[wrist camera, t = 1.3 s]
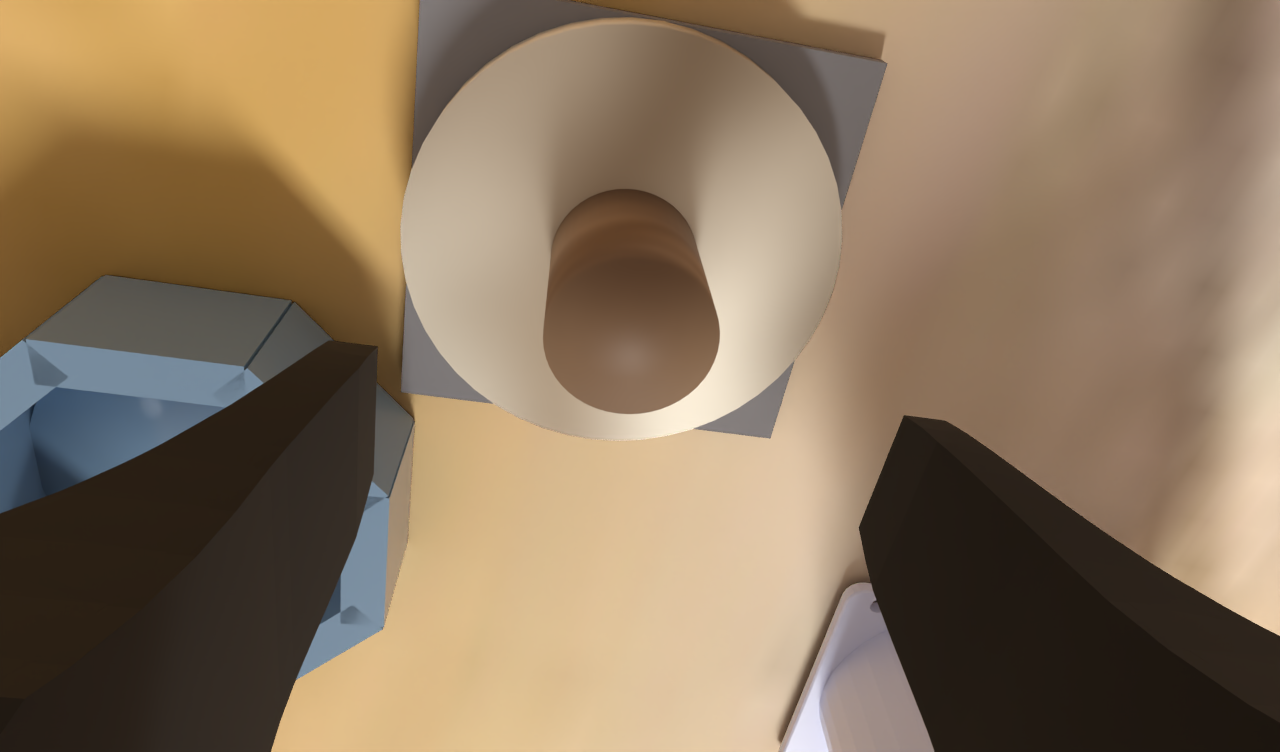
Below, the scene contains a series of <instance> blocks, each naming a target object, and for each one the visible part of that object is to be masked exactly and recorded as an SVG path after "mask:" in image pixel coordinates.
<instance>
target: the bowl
mask: <svg viewBox="0 0 1280 752" xmlns="http://www.w3.org/2000/svg"><path fill="white" fill-rule="evenodd" d="M329 340H331V341H334V340H333V339H332V338H331V337H330V336H329V335H328V334H327V333H326V332H325V331H324V330H323V329H322V328H321V327H320V326H319V325H318V324H317V323H316V322H315V321H314V320H312V319H311V318H310V317H309V316H308V315H307V314H306V313H305V312H304V311H303V310H302V309H301V308H300V307H299V306H298V305H297V304H296V303H295V302H294V303H292V301H291V300H285V299H278V298H270V297H263V296H256V295H248V294H241V293H234V292H227V291H219V290H212V289H205V288H197V287H190V286H183V285H176V284H168V283H161V282H154V281H146V280H139V279H132V278H125V277H117V276H110V275H105V276H101V277H100V278H99V279H98V280H96V281H95V282H94V283H93V284H91V285H90V286H89V287H88V288H86V289H85V290H84V291H83V292H81V293H80V294H79V295H78V296H76V297H75V298H74V299H73V300H71V301H70V302H69V303H68V304H66V305H65V306H64V307H63V308H61V309H60V310H59V311H58V312H56V313H55V314H54V315H53V316H51V317H50V318H49V319H48V320H46V321H45V322H44V323H43V324H41V325H40V326H39V327H38V328H36V329H35V330H34V331H33V332H31V333H30V334H29V335H28V336H26V337H25V338H24V339H23V340H21V341H20V342H19V343H18V344H16V345H15V346H14V347H13V348H12V349H10V350H9V351H8V352H7V353H5V354H4V355H3V356H2V357H1V358H0V513H3V512H5V511H8V510H11V509H13V508H16V507H19V506H21V505H24V504H27V503H29V502H32V501H35V500H37V499H40V498H43V497H45V496H48V495H51V494H53V493H56V492H59V491H61V490H64V489H66V488H68V487H71V486H73V485H76V484H78V483H80V482H82V481H85V480H87V479H89V478H91V477H93V476H96V475H98V474H100V473H102V472H105V471H107V470H109V469H111V468H113V467H116V466H118V465H120V464H122V463H124V462H126V461H128V460H130V459H133V458H135V457H137V456H139V455H141V454H143V453H145V452H147V451H149V450H151V449H153V448H155V447H156V446H158V445H160V444H162V443H164V442H166V441H168V440H169V439H171V438H173V437H175V436H176V435H178V434H180V433H182V432H183V431H185V430H187V429H189V428H190V427H192V426H194V425H196V424H197V423H199V422H201V421H203V420H205V419H206V418H208V417H210V416H212V415H213V414H215V413H217V412H219V411H220V410H222V409H224V408H226V407H227V406H229V405H231V404H232V403H234V402H235V401H237V400H238V399H240V398H242V397H243V396H245V395H246V394H248V393H249V392H251V391H252V390H254V389H256V388H257V387H259V386H260V385H262V384H263V383H265V382H266V381H268V380H270V379H271V378H273V377H274V376H276V375H277V374H279V373H280V372H282V371H283V370H285V369H286V368H288V367H289V366H291V365H292V364H294V363H295V362H296V361H298V360H299V359H301V358H302V357H304V356H305V355H307V354H308V353H310V352H311V351H313V350H314V349H316V348H317V347H319V346H320V345H322V344H324V343H325V342H327V341H329ZM413 420H414V419H413V418H412V417H411V416H410V415H409V414H408V413H407V412H406V411H405V410H404V409H403V408H402V407H401V406H400V405H399V404H398V403H397V402H396V401H395V400H394V399H393V398H392V397H391V396H390V395H389V394H388V393H387V392H386V391H385V390H384V389H383V388H382V387H381V386H380V385H379V384H378V383H377V387H376V419H375V452H374V475H373V479H372V483H371V486H370V490H369V494H368V498H367V501H366V505H365V509H364V512H363V516H362V519H361V523H360V526H359V530H358V533H357V537H356V540H355V542H354V545H353V547H352V549H351V552H350V554H349V557H348V559H347V561H346V564H345V566H344V568H343V571H342V573H341V576H340V578H339V580H338V583H337V585H336V587H335V590H334V592H333V594H332V597H331V599H330V601H329V604H328V606H327V608H326V611H325V613H324V615H323V618H322V620H321V622H320V625H319V627H318V629H317V632H316V634H315V636H314V639H313V641H312V643H311V646H310V648H309V650H308V653H307V655H306V657H305V660H304V662H303V664H302V667H301V669H300V671H299V674H298V676H297V678H296V680H297V679H298V678H300V677H302V676H304V675H305V674H307V673H309V672H310V671H312V670H314V669H315V668H317V667H319V666H321V665H322V664H324V663H326V662H327V661H329V660H331V659H333V658H334V657H336V656H338V655H339V654H341V653H343V652H345V651H346V650H348V649H350V648H351V647H353V646H355V645H356V644H358V643H360V642H362V641H363V640H365V639H367V638H368V637H370V636H372V635H374V634H375V633H377V632H379V631H380V630H382V629H383V627H384V625H385V622H386V618H387V614H388V611H389V607H390V604H391V600H392V597H393V593H394V589H395V586H396V582H397V579H398V575H399V571H400V568H401V564H402V561H403V557H404V554H405V550H406V546H407V543H408V529H409V512H410V495H411V478H412V461H413V444H414V427H415V421H413Z"/></svg>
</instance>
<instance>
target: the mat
mask: <svg viewBox="0 0 1280 752" xmlns="http://www.w3.org/2000/svg"><path fill="white" fill-rule="evenodd" d="M618 17H635V18H644V19H652V20H660V21H666V22H669V23H673V24H677V25H681V26H684V27H688V28H692V29H695V30H697V31H699V32H702V33H704V34H706V35H709V36H711V37H713V38H716V39H718V40H721V41H722V42H724V43H726V44H727V45H729V46H731V47H732V48H734V49H736V50H737V51H739V52H740V53H742V54H744V55H745V56H747V57H748V58H749V59H751V60H752V61H753V62H754V63H756V64H757V65H758V66H759V67H760V68H762V69H763V70H764V71H765V72H766V73H768V74H769V75H770V76H771V77H772V78H773V79H774V80H775V81H776V82H777V83H778V85H779V86H780V87H781V88H782V89H783V90H784V91H785V92H786V93H787V94H788V95H789V97H790V98H791V99H792V100H793V101H794V102H795V103H796V104H797V105H798V106H799V108H800V109H801V110H802V112H803V113H804V115H805V116H806V118H807V119H808V121H809V122H810V124H811V125H812V127H813V128H814V130H815V131H816V133H817V135H818V137H819V139H820V141H821V143H822V145H823V147H824V149H825V151H826V154H827V156H828V158H829V161H830V164H831V167H832V170H833V173H834V176H835V180H836V183H837V187H838V193H839V199H840V205H841V210H842V207H843V204H844V201H845V198H846V194H847V191H848V188H849V185H850V182H851V178H852V175H853V172H854V169H855V166H856V162H857V159H858V156H859V153H860V150H861V146H862V143H863V140H864V137H865V134H866V130H867V127H868V124H869V121H870V118H871V114H872V111H873V108H874V105H875V102H876V98H877V95H878V92H879V89H880V86H881V82H882V79H883V76H884V73H885V70H886V66H887V63H885V62H884V61H882V60H879V59H873V58H868V57H863V56H858V55H853V54H847V53H842V52H837V51H832V50H826V49H821V48H816V47H811V46H806V45H800V44H795V43H790V42H785V41H779V40H774V39H769V38H764V37H758V36H753V35H748V34H743V33H738V32H732V31H727V30H722V29H717V28H711V27H706V26H701V25H696V24H691V23H685V22H680V21H675V20H670V19H664V18H659V17H654V16H649V15H644V14H638V13H633V12H628V11H623V10H617V9H612V8H607V7H602V6H597V5H591V4H586V3H581V2H576V1H570V0H420V7H419V28H418V49H417V70H416V90H415V111H414V132H413V152H412V167H413V165H414V163H415V160H416V158H417V156H418V153H419V151H420V149H421V146H422V144H423V142H424V140H425V139H426V137H427V135H428V134H429V132H430V131H431V129H432V127H433V126H434V124H435V122H436V121H437V119H438V118H439V116H440V114H441V113H442V111H443V110H444V108H445V107H446V105H447V104H448V103H449V102H450V100H451V99H452V98H453V97H454V96H455V94H456V93H457V92H458V91H459V90H460V88H461V87H462V86H463V85H464V84H465V82H466V81H468V80H469V79H470V78H471V77H472V76H473V75H474V74H475V73H476V72H478V71H479V70H480V69H481V68H482V67H483V66H484V65H485V64H487V63H488V62H489V61H491V60H492V59H494V58H495V57H497V56H498V55H500V54H501V53H503V52H504V51H506V50H507V49H509V48H510V47H512V46H513V45H515V44H517V43H519V42H521V41H524V40H526V39H528V38H530V37H532V36H534V35H536V34H538V33H540V32H543V31H546V30H550V29H553V28H556V27H559V26H562V25H565V24H569V23H573V22H579V21H585V20H591V19H597V18H618ZM794 361H795V360H794ZM794 361H793V363H792V364H791V365H790V366H789V367H788V368H787V369H786V370H785V371H784V372H783V373H782V374H781V375H780V376H779V378H778V379H776V380H775V381H774V382H773V383H772V384H770V385H769V386H768V387H767V388H766V389H765V390H763V391H762V392H761V393H760V394H759V395H757V396H756V397H754V398H753V399H751V400H750V401H748V402H747V403H745V404H744V405H742V406H741V407H739V408H738V409H736V410H734V411H732V412H730V413H728V414H726V415H724V416H722V417H720V418H718V419H717V420H715V421H712V422H709V423H707V424H704V425H702V426H699V427H696V428H694V429H699V430H707V431H715V432H723V433H731V434H739V435H747V436H755V437H763V438H771V434H772V431H773V428H774V425H775V422H776V418H777V415H778V412H779V409H780V406H781V402H782V399H783V396H784V393H785V390H786V386H787V383H788V380H789V377H790V374H791V370H792V367H793V364H794ZM401 392H404V393H412V394H420V395H428V396H436V397H444V398H452V399H460V400H468V401H476V402H484V403H492V402H491V401H489V400H488V399H487V398H485V397H484V396H483V395H481V394H480V393H478V392H477V391H476V390H474V389H473V388H472V387H471V386H470V385H469V384H468V383H467V382H466V381H465V380H464V379H463V378H462V377H460V376H459V375H458V374H457V373H456V372H455V371H454V369H453V368H452V367H451V366H450V365H449V363H448V362H447V361H446V360H445V359H444V357H443V356H442V355H441V354H440V353H439V351H438V350H437V348H436V347H435V345H434V343H433V342H432V340H431V339H430V337H429V336H428V334H427V333H426V331H425V329H424V327H423V325H422V323H421V321H420V318H419V316H418V314H417V312H416V310H415V308H414V305H413V302H412V299H411V296H410V293H409V289H408V286H407V283H406V297H405V318H404V339H403V360H402V380H401ZM492 404H494V403H492Z"/></svg>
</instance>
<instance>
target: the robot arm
mask: <svg viewBox="0 0 1280 752" xmlns="http://www.w3.org/2000/svg"><path fill="white" fill-rule="evenodd" d="M377 354H378V347H377V346H369V345H361V344H354V343H346V342H338V341H331V340H329V341H327V342H325V343H324V344H322V345H320V346H319V347H317V348H316V349H314V350H313V351H311V352H310V353H308V354H307V355H305V356H304V357H302V358H301V359H299V360H298V361H296V362H295V363H294V364H292V365H291V366H289V367H288V368H286V369H285V370H283V371H282V372H280V373H279V374H277V375H276V376H274V377H273V378H271V379H270V380H268V381H266V382H265V383H263V384H262V385H260V386H259V387H257V388H256V389H254V390H252V391H251V392H249V393H248V394H246V395H245V396H243V397H242V398H240V399H238V400H237V401H235V402H234V403H232V404H231V405H229V406H227V407H226V408H224V409H222V410H220V411H219V412H217V413H215V414H213V415H212V416H210V417H208V418H206V419H205V420H203V421H201V422H199V423H197V424H196V425H194V426H192V427H190V428H189V429H187V430H185V431H183V432H182V433H180V434H178V435H176V436H175V437H173V438H171V439H169V440H168V441H166V442H164V443H162V444H160V445H158V446H156V447H155V448H153V449H151V450H149V451H147V452H145V453H143V454H141V455H139V456H137V457H135V458H133V459H130V460H128V461H126V462H124V463H122V464H120V465H118V466H116V467H113V468H111V469H109V470H107V471H105V472H102V473H100V474H98V475H96V476H93V477H91V478H89V479H87V480H85V481H82V482H80V483H78V484H76V485H73V486H71V487H68V488H66V489H64V490H61V491H59V492H56V493H53V494H51V495H48V496H45V497H43V498H40V499H37V500H35V501H32V502H29V503H27V504H24V505H21V506H19V507H16V508H13V509H11V510H8V511H5V512H3V513H0V752H271V749H272V746H273V743H274V739H275V736H276V733H277V730H278V727H279V723H280V720H281V717H282V715H283V712H284V709H285V707H286V704H287V701H288V699H289V696H290V693H291V691H292V688H293V685H294V683H295V681H296V678H297V676H298V674H299V671H300V669H301V667H302V664H303V662H304V660H305V657H306V655H307V653H308V650H309V648H310V646H311V643H312V641H313V639H314V636H315V634H316V632H317V629H318V627H319V625H320V622H321V620H322V618H323V615H324V613H325V611H326V608H327V606H328V604H329V601H330V599H331V597H332V594H333V592H334V590H335V587H336V585H337V583H338V580H339V578H340V576H341V573H342V571H343V568H344V566H345V564H346V561H347V559H348V557H349V554H350V552H351V549H352V547H353V545H354V542H355V540H356V537H357V533H358V530H359V526H360V523H361V519H362V516H363V512H364V509H365V505H366V501H367V498H368V494H369V490H370V486H371V483H372V479H373V475H374V452H375V419H376V387H377ZM859 531H860V535H861V540H862V545H863V550H864V555H865V560H866V564H867V568H868V573H869V577H870V581H871V583H856V584H853V585H851V586H849V587H848V588H847V589H846V590H845V591H844V592H843V594H842V596H841V599H840V601H839V604H838V606H837V609H836V611H835V614H834V616H833V618H832V621H831V623H830V626H829V628H828V631H827V633H826V636H825V638H824V640H823V643H822V645H821V648H820V650H819V653H818V655H817V658H816V660H815V662H814V665H813V667H812V670H811V672H810V675H809V677H808V679H807V682H806V684H805V687H804V689H803V692H802V694H801V697H800V699H799V701H798V704H797V706H796V709H795V711H794V714H793V716H792V719H791V721H790V723H789V726H788V728H787V731H786V733H785V736H784V738H783V741H782V743H781V745H780V748H779V751H778V752H1280V636H1279V635H1277V634H1275V633H1273V632H1271V631H1269V630H1267V629H1265V628H1263V627H1261V626H1259V625H1257V624H1255V623H1253V622H1251V621H1250V620H1248V619H1246V618H1244V617H1242V616H1240V615H1238V614H1237V613H1235V612H1233V611H1231V610H1229V609H1227V608H1226V607H1224V606H1222V605H1221V604H1219V603H1217V602H1215V601H1214V600H1212V599H1210V598H1209V597H1207V596H1205V595H1203V594H1202V593H1200V592H1198V591H1197V590H1195V589H1193V588H1191V587H1190V586H1188V585H1186V584H1185V583H1183V582H1181V581H1179V580H1178V579H1176V578H1174V577H1173V576H1171V575H1169V574H1168V573H1166V572H1165V571H1163V570H1161V569H1160V568H1158V567H1156V566H1155V565H1153V564H1152V563H1150V562H1149V561H1147V560H1145V559H1144V558H1142V557H1141V556H1139V555H1138V554H1136V553H1135V552H1133V551H1132V550H1130V549H1129V548H1127V547H1126V546H1124V545H1123V544H1121V543H1120V542H1118V541H1117V540H1115V539H1114V538H1112V537H1111V536H1109V535H1108V534H1106V533H1105V532H1103V531H1102V530H1100V529H1099V528H1098V527H1096V526H1095V525H1093V524H1092V523H1090V522H1089V521H1088V520H1086V519H1085V518H1083V517H1082V516H1080V515H1079V514H1078V513H1076V512H1075V511H1073V510H1072V509H1071V508H1069V507H1068V506H1066V505H1065V504H1064V503H1062V502H1061V501H1060V500H1058V499H1057V498H1055V497H1054V496H1053V495H1051V494H1050V493H1049V492H1047V491H1046V490H1044V489H1043V488H1042V487H1040V486H1039V485H1038V484H1036V483H1035V482H1034V481H1032V480H1031V479H1029V478H1028V477H1027V476H1025V475H1024V474H1023V473H1021V472H1020V471H1019V470H1017V469H1016V468H1015V467H1013V466H1012V465H1010V464H1009V463H1008V462H1006V461H1005V460H1004V459H1002V458H1001V457H1000V456H998V455H997V454H995V453H994V452H993V451H991V450H990V449H988V448H987V447H986V446H984V445H983V444H981V443H980V442H978V441H977V440H976V439H974V438H973V437H971V436H970V435H968V434H967V433H965V432H963V431H962V430H960V429H959V428H957V427H955V426H953V425H952V424H950V423H948V422H946V421H943V420H936V419H928V418H920V417H913V416H905V415H904V417H903V419H902V422H901V424H900V427H899V429H898V432H897V434H896V437H895V439H894V442H893V444H892V447H891V449H890V451H889V454H888V456H887V459H886V461H885V464H884V466H883V469H882V471H881V474H880V476H879V479H878V481H877V484H876V486H875V489H874V491H873V494H872V496H871V499H870V501H869V504H868V506H867V509H866V511H865V514H864V516H863V518H862V521H861V523H860V526H859ZM876 600H877V602H874V601H876ZM873 602H874V603H873Z"/></svg>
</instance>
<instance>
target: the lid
mask: <svg viewBox="0 0 1280 752" xmlns="http://www.w3.org/2000/svg"><path fill="white" fill-rule="evenodd" d="M841 247H842V211H841V205H840V199H839V193H838V187H837V183H836V180H835V176H834V173H833V170H832V167H831V164H830V161H829V158H828V156H827V154H826V151H825V149H824V147H823V145H822V143H821V141H820V139H819V137H818V135H817V133H816V131H815V130H814V128H813V127H812V125H811V124H810V122H809V121H808V119H807V118H806V116H805V115H804V113H803V112H802V110H801V109H800V108H799V106H798V105H797V104H796V103H795V102H794V101H793V100H792V99H791V98H790V97H789V95H788V94H787V93H786V92H785V91H784V90H783V89H782V88H781V87H780V86H779V85H778V83H777V82H776V81H775V80H774V79H773V78H772V77H771V76H770V75H769V74H768V73H766V72H765V71H764V70H763V69H762V68H760V67H759V66H758V65H757V64H756V63H754V62H753V61H752V60H751V59H749V58H748V57H747V56H745V55H744V54H742V53H740V52H739V51H737V50H736V49H734V48H732V47H731V46H729V45H727V44H726V43H724V42H722V41H721V40H718V39H716V38H713V37H711V36H709V35H706V34H704V33H702V32H699V31H697V30H695V29H692V28H688V27H684V26H681V25H677V24H673V23H669V22H666V21H660V20H652V19H644V18H635V17H618V18H597V19H591V20H585V21H579V22H573V23H569V24H565V25H562V26H559V27H556V28H553V29H550V30H546V31H543V32H540V33H538V34H536V35H534V36H532V37H530V38H528V39H526V40H524V41H521V42H519V43H517V44H515V45H513V46H512V47H510V48H509V49H507V50H506V51H504V52H503V53H501V54H500V55H498V56H497V57H495V58H494V59H492V60H491V61H489V62H488V63H487V64H485V65H484V66H483V67H482V68H481V69H480V70H479V71H478V72H476V73H475V74H474V75H473V76H472V77H471V78H470V79H469V80H468V81H466V82H465V84H464V85H463V86H462V87H461V88H460V90H459V91H458V92H457V93H456V94H455V96H454V97H453V98H452V99H451V100H450V102H449V103H448V104H447V105H446V107H445V108H444V110H443V111H442V113H441V114H440V116H439V118H438V119H437V121H436V122H435V124H434V126H433V127H432V129H431V131H430V132H429V134H428V135H427V137H426V139H425V140H424V142H423V144H422V146H421V149H420V151H419V153H418V156H417V158H416V160H415V163H414V165H413V167H412V170H411V173H410V177H409V180H408V184H407V188H406V192H405V195H404V201H403V209H402V218H401V255H402V261H403V267H404V273H405V279H406V283H407V286H408V289H409V293H410V296H411V299H412V302H413V305H414V308H415V310H416V312H417V314H418V316H419V318H420V321H421V323H422V325H423V327H424V329H425V331H426V333H427V334H428V336H429V337H430V339H431V340H432V342H433V343H434V345H435V347H436V348H437V350H438V351H439V353H440V354H441V355H442V356H443V357H444V359H445V360H446V361H447V362H448V363H449V365H450V366H451V367H452V368H453V369H454V371H455V372H456V373H457V374H458V375H459V376H460V377H462V378H463V379H464V380H465V381H466V382H467V383H468V384H469V385H470V386H471V387H472V388H473V389H474V390H476V391H477V392H478V393H480V394H481V395H483V396H484V397H485V398H487V399H488V400H489V401H491V402H492V403H494V404H495V405H496V406H498V407H500V408H502V409H504V410H505V411H507V412H509V413H511V414H512V415H514V416H516V417H518V418H520V419H522V420H525V421H527V422H530V423H532V424H534V425H537V426H539V427H542V428H545V429H548V430H552V431H555V432H559V433H562V434H565V435H571V436H576V437H582V438H588V439H597V440H612V441H623V440H643V439H650V438H656V437H663V436H668V435H672V434H676V433H680V432H684V431H687V430H691V429H694V428H696V427H699V426H702V425H704V424H707V423H709V422H712V421H715V420H717V419H718V418H720V417H722V416H724V415H726V414H728V413H730V412H732V411H734V410H736V409H738V408H739V407H741V406H742V405H744V404H745V403H747V402H748V401H750V400H751V399H753V398H754V397H756V396H757V395H759V394H760V393H761V392H762V391H763V390H765V389H766V388H767V387H768V386H769V385H770V384H772V383H773V382H774V381H775V380H776V379H778V378H779V376H780V375H781V374H782V373H783V372H784V371H785V370H786V369H787V368H788V367H789V366H790V365H791V364H792V363H793V361H794V360H795V359H796V358H797V357H798V355H799V354H800V352H801V351H802V350H803V348H804V347H805V346H806V344H807V343H808V341H809V340H810V339H811V337H812V335H813V333H814V332H815V330H816V328H817V326H818V324H819V322H820V321H821V319H822V317H823V315H824V313H825V310H826V307H827V305H828V302H829V300H830V297H831V295H832V292H833V289H834V285H835V281H836V277H837V273H838V269H839V264H840V256H841Z"/></svg>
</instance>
